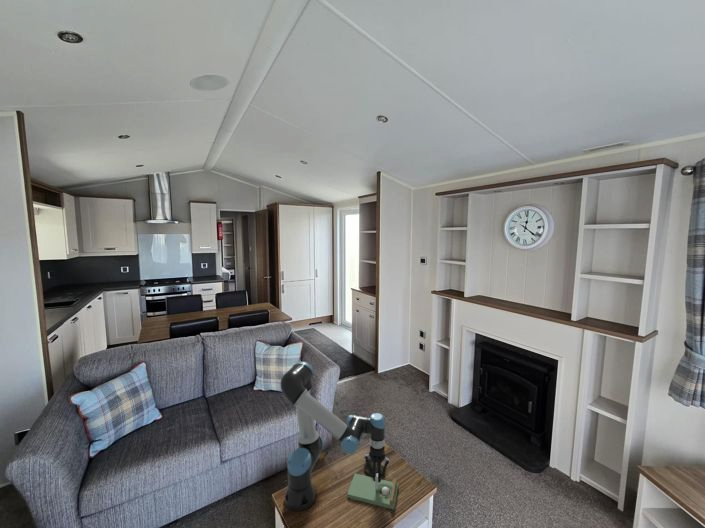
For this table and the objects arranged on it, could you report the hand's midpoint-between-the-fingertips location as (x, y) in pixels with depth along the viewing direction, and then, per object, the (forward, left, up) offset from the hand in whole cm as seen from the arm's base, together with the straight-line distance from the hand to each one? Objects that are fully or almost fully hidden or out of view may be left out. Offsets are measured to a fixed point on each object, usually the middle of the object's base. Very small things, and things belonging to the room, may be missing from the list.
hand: (377, 486), depth 162 cm
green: (-2, 0, -4) cm, 4 cm away
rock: (-5, +14, -4) cm, 16 cm away
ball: (+4, 0, -2) cm, 5 cm away
